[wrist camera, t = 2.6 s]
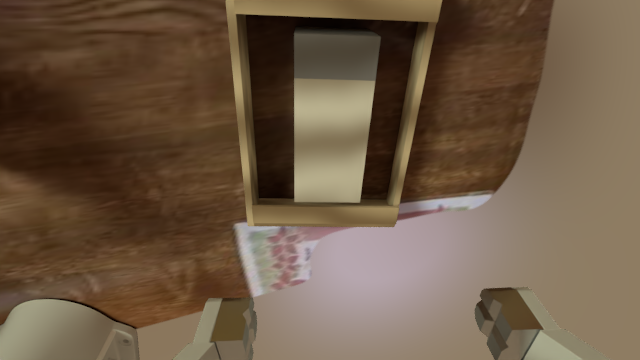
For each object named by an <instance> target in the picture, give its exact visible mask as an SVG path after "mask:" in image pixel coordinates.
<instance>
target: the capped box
mask: <svg viewBox="0 0 640 360" xmlns="http://www.w3.org/2000/svg"><path fill="white" fill-rule="evenodd" d="M380 41H381V36H379V35H377V34H376V33H374V32H373V31H371V30H370V29H356V28H331V27H306V26H296V28H295V32H294V202H351V203H360V198H361V190H362V182H363V174H364V167H365V159H366V151H367V143H368V135H369V127H370V119H371V112H372V104H373V96H374V88H375V80H376V72H377V64H378V56H379V49H380Z"/></svg>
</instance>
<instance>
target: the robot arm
mask: <svg viewBox="0 0 640 360" xmlns="http://www.w3.org/2000/svg"><path fill="white" fill-rule="evenodd" d="M480 297H481V299H482V300H481V301H480V302H479V303H477V305H476V308H475V319H476V322H477V325H478V327H479V329H480V331H481V332H482V333H483V334H485V335H486V336H487V337H488V340H487V345H488V347H489V349H490V351H491V353H492V355H493V357H494V359H495V360H611V359H610V358H608V357H607V356H605V355H604V354H602V353H601V352H599V351H598V350H596V349H595V348H593V347H592V346H590V345H588V344H587V343H585V342H584V341H582V340H581V339H579V338H578V337H576V336H575V335H573V334H571V333H570V332H568V331H567V330H566V329H560V328H559V326H558V325H557V324H556V322H555V321H554V320H553V318H552V317H551V316H550V314H549V313H548V312H547V310H546V309H545V307H544V306H543V305H542V303H541V302H540V301H539V299H538V298H537V297H536V295H535V294H534V293H533V292H532V290H531V289H529V288H528V287H520V288H519V287H518V288H490V289H484V290H482V291H481V294H480ZM253 308H254V301H253V298H209V299H208V301H207V302H206V304H205V307H204V310H203V313H202V317H201V320H200V323H199V326H198V329H197V332H196V335H195V338H194V341H193V343H188V344H187V345H186V346H185V347H184V348H183V349H182V350H181V351H180V352H179V353H178V354H177V355H176V356H175V358H173V359H172V360H252V358H253V348H252V343H253V342H254V341H255V338H256V331H257V316H256V312H255V311H254V310H253ZM0 360H139V350H138V338H137V332H136V330H135V329H134V328H132V327H130V326H127V325H124V324H121V323H118V322H115V321H113V320H111V319H109V318H108V317H106V316H104V315H103V314H101V313H99V312H97V311H95V310H93V309H91V308H89V307H86V306H83V305H80V304H77V303H73V302H69V301H63V300H55V299H39V300H32V301H28V302H24V303H22V304H20V305H18V306H16V307H15V308H14V309H13V310H12V311H11V312H10V314H9V316H8V318H7V319H6V321H5V323H4V324H2V325H0Z"/></svg>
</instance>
